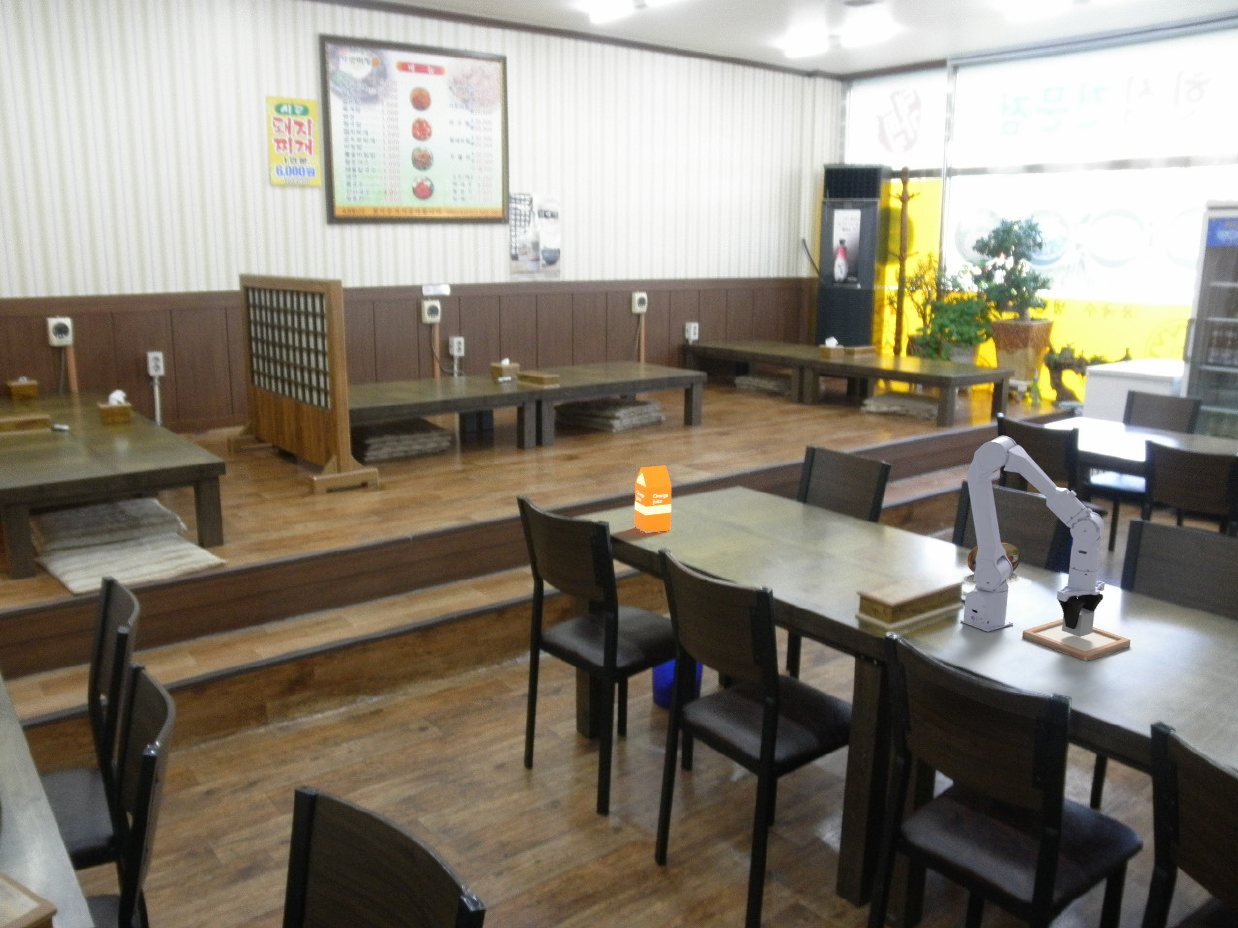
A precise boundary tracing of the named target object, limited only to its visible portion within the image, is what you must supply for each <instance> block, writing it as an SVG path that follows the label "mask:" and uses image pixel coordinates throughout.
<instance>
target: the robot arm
mask: <svg viewBox="0 0 1238 928" xmlns="http://www.w3.org/2000/svg"><path fill="white" fill-rule="evenodd" d="M973 455H974V456H973V459H972V461H971V463H970V466H969V468H968V470H967V473H966V480H967V487H968V494H969V499H970V506H971V511H972V519H973V525H974V530H975V537H976V544H977V545H976V546H978V551H977V555H976V569H975V572H973V579H974V582H975V586H974V588H973V589H972V590H971V591H969V592H968V593H967V594H966V595H965V599H964V610H963V618H961V619H960V620H959V621H960V623H964V624H966V625H969V626H971V627H974V628H976V629H979V630H982V631H984V632H992V631H995V630H999V629H1003V628H1005V627H1009V626H1012V625H1014V622H1013V621H1010V620H1009V619H1006V617H1007V609H1008V608H1007V607H1008V596H1009V584H1008V582H1007V579H1010V577H1011V575H1012V574H1013V572H1012V564H1011V562H1010V561H1009V560H1008V558H1007V556H1006V551H1005V549H1004V548H1003V546H1002V545H1001V543H1002V541H1001V535H1000V528H999V522H998V515H997V510H996V509H997V508H996V504H995V496H994V489H993V484H992V483H993V482H992V478H993V477H994V476H995V475H996V474H997V473H998V472H999V470H1000V469H1001V468H1002V467H1004V468H1003V471H1005V472H1011V473H1018V474H1020V475H1021V476H1022V477H1023V478H1024V479H1025V480H1026V481H1027V482H1029V484H1031V485H1032V486H1033V487H1034V488H1035V489H1036V490H1038V491H1039V492H1040V493H1041V494H1042V495H1043V496H1044V497H1045V500H1046V502H1045V503H1046V507H1047V508H1048V509H1050V511H1051V512H1053V514H1054V515H1055V516H1056V517H1057V518H1058V519H1059V520H1060V521H1061V522H1062V523H1063V524H1065V526H1066V527H1068V528H1070V529H1069V531H1070V535H1071V537H1072V538H1073V539H1072V545H1071V549H1070V550H1071V551H1070V560H1069V569H1068V578H1067V583H1066V585H1065V586H1064V587H1062V588H1061V589H1059V590H1057V594H1056V600H1057V601H1058V602H1059V605H1060V607H1061V609H1062V613H1063V614H1064V619H1065V625H1066V627H1068V628H1071V629H1075V628H1076V626H1077V622H1078V618H1079V614H1080V611H1081V609H1082V608H1084V609H1087V610H1090V611H1093V612H1094V613H1095V611H1096V609H1097V608H1098V605H1099V604H1100V603H1101V602H1102V600H1103V599H1104V595H1103V594H1102V593H1100V592H1102V591H1105V585H1106V584H1105V583H1106V582H1104V581H1101V580H1098V579H1097V578H1098V570H1099V564H1100V563H1099V561H1100V553H1101V548H1100V546H1101V537H1100V536H1102V534H1104V531H1105V521H1104V519H1103V517H1101V515H1100V514H1099V513H1097V512H1094V511H1093V510H1092V509H1091V508H1090V507H1088V508H1087V507H1086V505H1084V503H1082V502H1081V501H1080V500H1079V499H1078V498H1077V497H1076V496H1077V495H1078V494H1077V493H1076V492H1075V491H1074V490H1071V491H1070V490H1069V489H1068V488H1066V487H1058V486H1057V485H1056V483H1054V481H1052V479H1051V478H1050V477H1049V476H1048V475H1047V474H1046V472H1044V470H1043V469H1042V468H1041V467H1040V466H1039V465H1038V464H1037V463H1036V462H1035V461H1034V460H1033V459H1032V457H1031V456H1030V455H1029V454H1028V453H1027V452H1026V450H1025V449H1024V448H1023V447H1022V446H1021V445H1019V444H1017V443H1016V441H1015V439H1013V438H1012V437H1009V436H1007V435H1000V436H997V437H996V438H994V439H992V440H990V441H987V442H985V443H983V444H982V445H981V446H980V447H979V448H977V450H976V451H974V454H973Z"/></svg>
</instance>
